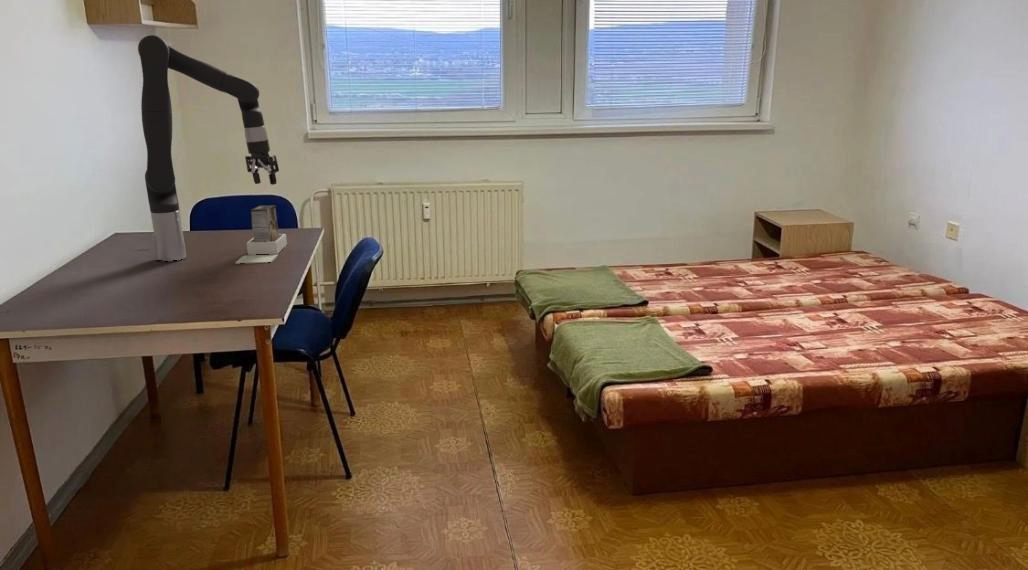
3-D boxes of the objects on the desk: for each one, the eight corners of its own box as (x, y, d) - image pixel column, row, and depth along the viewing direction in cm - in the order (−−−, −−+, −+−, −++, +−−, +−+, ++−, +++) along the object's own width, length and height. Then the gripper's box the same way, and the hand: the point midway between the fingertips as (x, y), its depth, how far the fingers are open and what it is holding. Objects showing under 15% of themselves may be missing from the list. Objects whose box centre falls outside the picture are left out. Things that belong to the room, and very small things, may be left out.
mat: (235, 263, 251) (235, 262, 251) (244, 256, 261) (244, 255, 260) (270, 262, 252) (270, 261, 251) (278, 255, 261) (278, 254, 261)
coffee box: (263, 247, 274) (258, 205, 269) (280, 247, 274) (276, 204, 269) (255, 253, 265) (249, 209, 261) (272, 253, 265) (267, 209, 260)
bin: (248, 255, 263) (246, 242, 261) (258, 246, 276) (257, 234, 274) (277, 254, 263) (276, 242, 262) (287, 245, 276) (285, 233, 275)
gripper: (235, 141, 263) (244, 185, 268) (262, 141, 255) (270, 186, 261) (252, 138, 269) (260, 181, 274) (278, 137, 261) (287, 182, 267)
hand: (265, 183), depth 267 cm, fingers open, 8 cm apart
